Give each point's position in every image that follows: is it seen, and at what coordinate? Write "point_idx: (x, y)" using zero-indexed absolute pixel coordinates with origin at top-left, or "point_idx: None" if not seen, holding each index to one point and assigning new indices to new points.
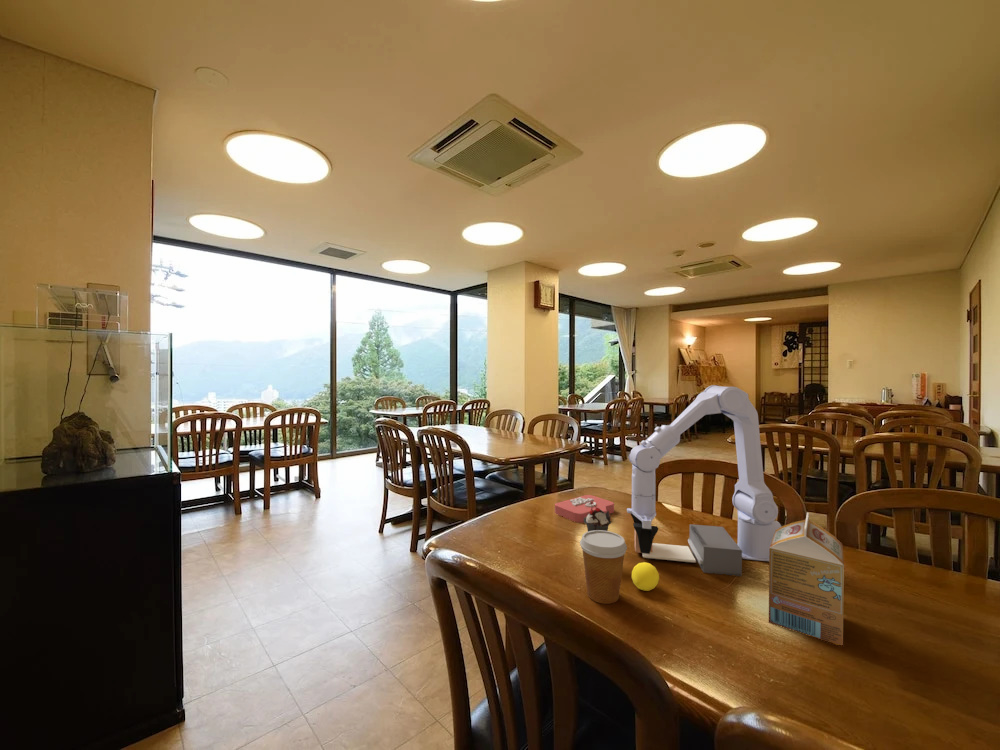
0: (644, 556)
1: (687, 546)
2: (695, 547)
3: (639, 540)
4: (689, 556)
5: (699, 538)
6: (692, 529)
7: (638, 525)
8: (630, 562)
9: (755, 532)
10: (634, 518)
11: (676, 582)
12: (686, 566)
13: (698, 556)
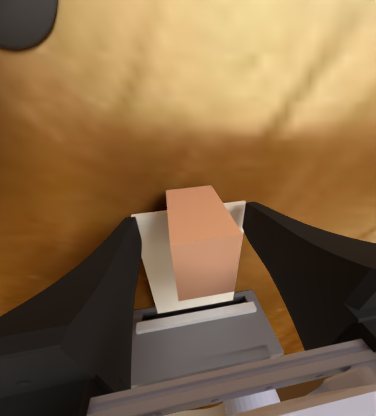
0: None
1: (231, 299)
2: (204, 323)
3: (91, 256)
4: (176, 305)
5: (181, 375)
6: (249, 357)
7: (17, 379)
8: (95, 168)
9: (227, 412)
10: (327, 262)
11: (42, 280)
12: (147, 290)
13: (157, 328)
